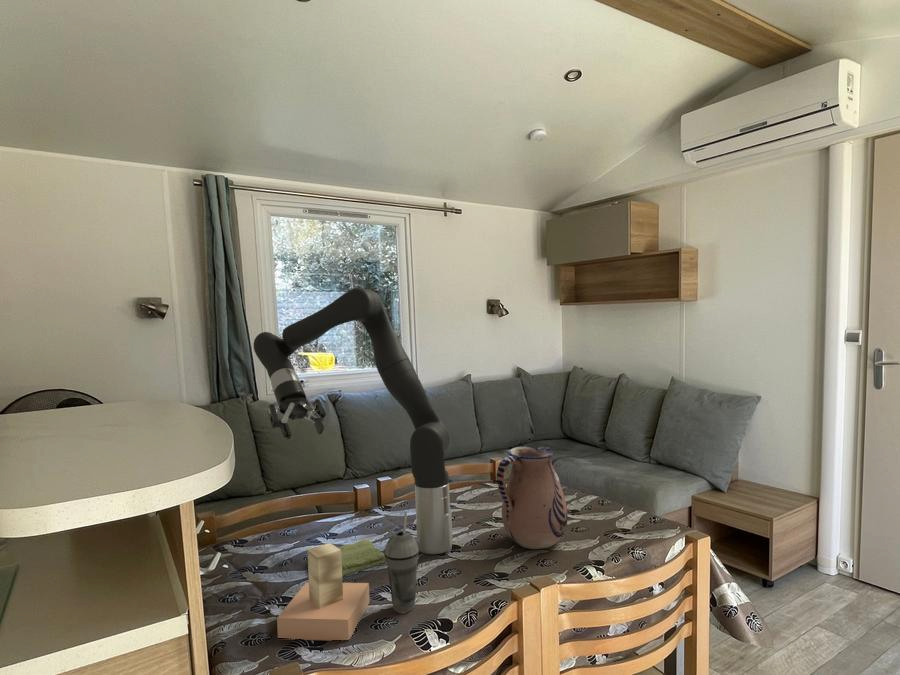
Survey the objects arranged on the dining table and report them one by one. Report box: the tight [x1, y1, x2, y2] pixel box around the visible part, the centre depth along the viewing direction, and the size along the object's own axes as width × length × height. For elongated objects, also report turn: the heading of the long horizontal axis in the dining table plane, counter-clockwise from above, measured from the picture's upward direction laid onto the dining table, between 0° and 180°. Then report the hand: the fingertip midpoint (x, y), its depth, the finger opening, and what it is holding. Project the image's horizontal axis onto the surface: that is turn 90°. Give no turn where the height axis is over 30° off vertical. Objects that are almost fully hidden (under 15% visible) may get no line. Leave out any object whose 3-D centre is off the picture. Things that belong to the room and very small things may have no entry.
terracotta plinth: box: [276, 581, 370, 642], centre depth 101 cm, size 14×14×4 cm
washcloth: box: [337, 538, 386, 577], centre depth 127 cm, size 13×18×3 cm
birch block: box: [307, 542, 344, 608], centre depth 101 cm, size 5×5×10 cm
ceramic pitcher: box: [496, 445, 569, 550], centre depth 133 cm, size 18×21×25 cm
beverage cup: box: [383, 510, 420, 613], centre depth 104 cm, size 7×7×20 cm
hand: (305, 434), depth 129 cm, fingers open, 8 cm apart
